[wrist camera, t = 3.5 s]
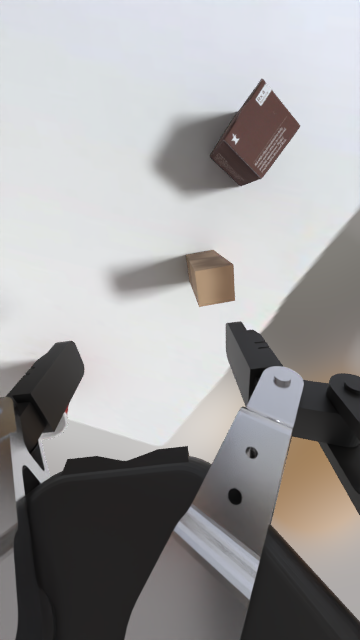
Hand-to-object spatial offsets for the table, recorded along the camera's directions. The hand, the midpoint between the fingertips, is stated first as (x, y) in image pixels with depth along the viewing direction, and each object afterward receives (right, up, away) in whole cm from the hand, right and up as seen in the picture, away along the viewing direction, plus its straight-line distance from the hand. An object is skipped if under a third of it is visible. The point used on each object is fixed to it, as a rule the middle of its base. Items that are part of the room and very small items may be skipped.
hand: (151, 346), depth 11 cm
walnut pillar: (+5, +10, +24) cm, 27 cm away
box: (+9, +24, +18) cm, 32 cm away
